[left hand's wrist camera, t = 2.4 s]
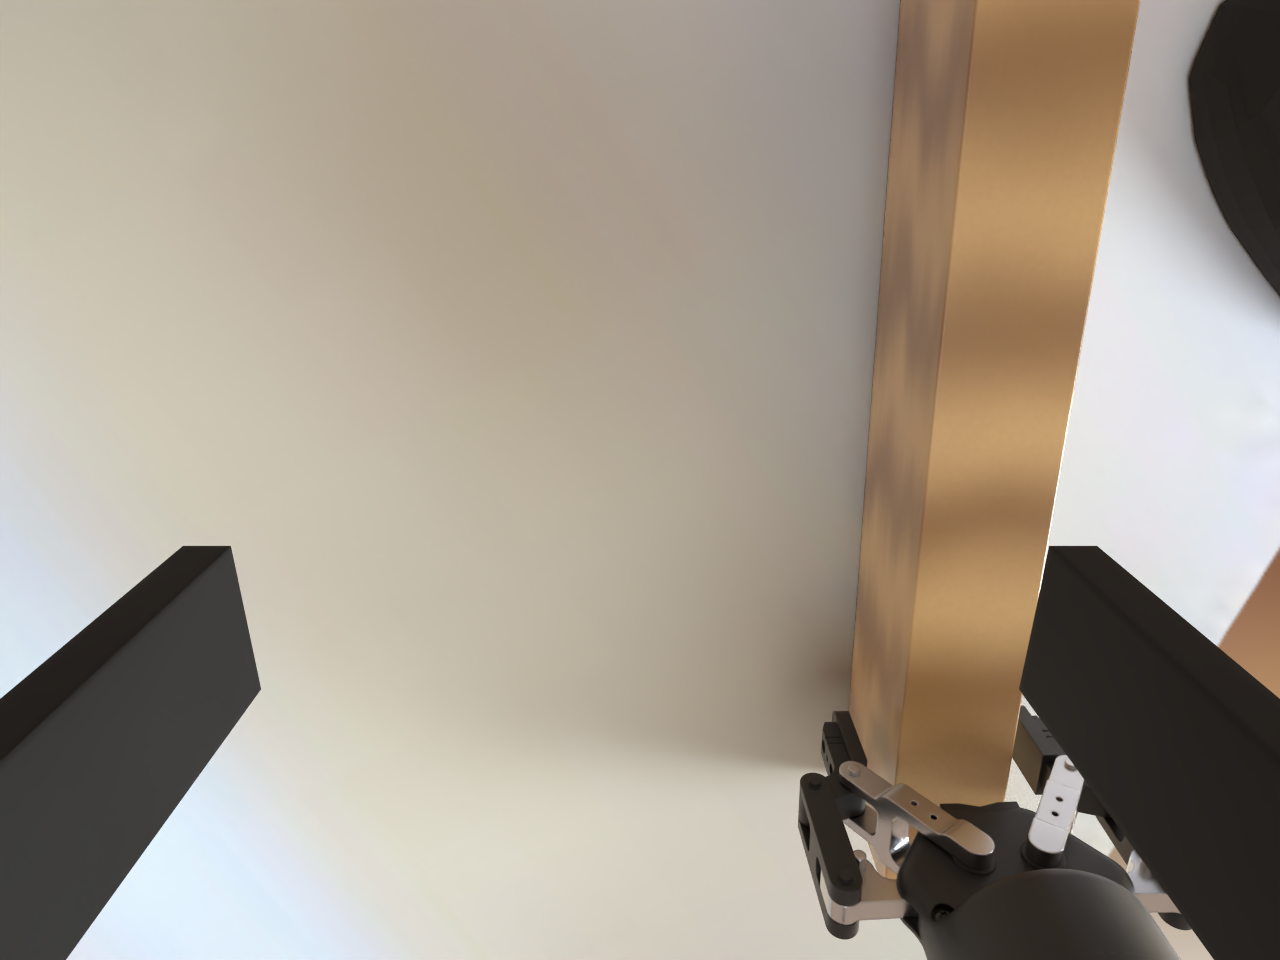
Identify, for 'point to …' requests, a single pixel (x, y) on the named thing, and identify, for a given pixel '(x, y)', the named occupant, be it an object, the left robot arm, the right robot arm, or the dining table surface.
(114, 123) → the dining table surface
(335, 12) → the dining table surface
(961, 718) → the beam
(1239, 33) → the computer mouse
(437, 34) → the dining table surface
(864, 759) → the right robot arm
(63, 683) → the left robot arm
